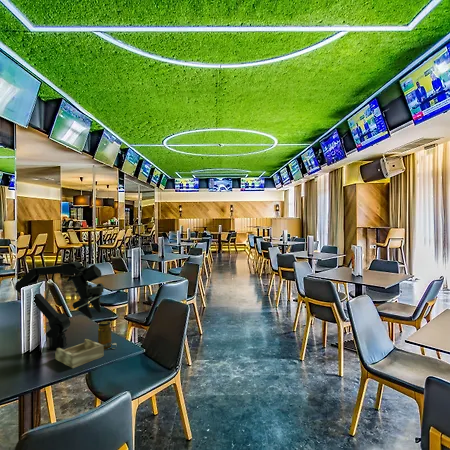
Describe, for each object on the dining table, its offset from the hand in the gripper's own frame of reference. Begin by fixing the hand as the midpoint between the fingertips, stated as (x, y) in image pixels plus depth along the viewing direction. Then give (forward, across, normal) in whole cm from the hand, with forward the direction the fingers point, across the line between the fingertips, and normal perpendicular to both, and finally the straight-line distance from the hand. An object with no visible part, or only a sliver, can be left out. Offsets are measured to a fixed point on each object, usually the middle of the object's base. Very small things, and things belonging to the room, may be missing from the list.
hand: (95, 315), depth 148 cm
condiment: (+16, 0, +2) cm, 17 cm away
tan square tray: (+13, -11, +9) cm, 19 cm away
